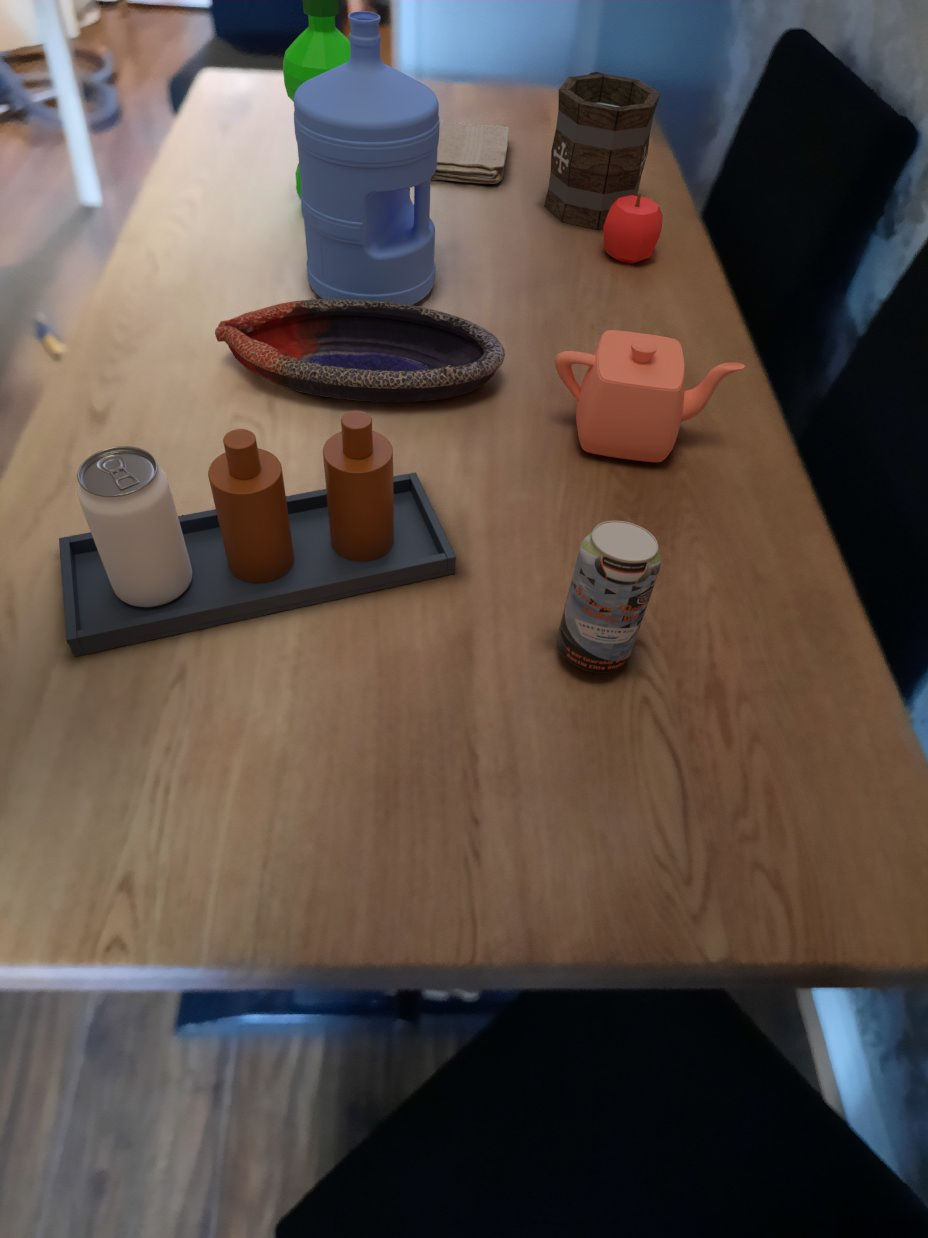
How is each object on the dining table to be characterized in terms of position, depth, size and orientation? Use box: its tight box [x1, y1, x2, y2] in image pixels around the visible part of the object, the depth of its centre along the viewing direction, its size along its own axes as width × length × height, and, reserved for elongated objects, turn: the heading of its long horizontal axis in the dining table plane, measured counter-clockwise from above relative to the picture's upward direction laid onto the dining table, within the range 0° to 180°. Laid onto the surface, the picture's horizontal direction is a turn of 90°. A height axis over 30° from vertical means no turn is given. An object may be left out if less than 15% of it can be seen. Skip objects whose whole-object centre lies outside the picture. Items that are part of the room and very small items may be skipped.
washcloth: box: [431, 121, 510, 185], centre depth 130 cm, size 12×18×3 cm, turn 176°
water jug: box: [293, 10, 441, 306], centre depth 95 cm, size 16×16×28 cm
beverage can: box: [556, 520, 662, 674], centre depth 66 cm, size 6×7×12 cm
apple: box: [602, 193, 664, 265], centre depth 111 cm, size 8×8×8 cm
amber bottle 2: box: [322, 410, 394, 562], centre depth 71 cm, size 6×6×13 cm
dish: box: [214, 298, 506, 403], centre depth 92 cm, size 16×31×5 cm, turn 84°
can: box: [76, 445, 192, 608], centre depth 67 cm, size 6×6×12 cm
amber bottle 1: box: [207, 428, 294, 583], centre depth 69 cm, size 6×6×13 cm
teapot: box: [554, 329, 746, 463], centre depth 85 cm, size 12×18×10 cm, turn 81°
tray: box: [58, 472, 457, 657], centre depth 73 cm, size 32×12×2 cm, turn 109°
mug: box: [543, 71, 661, 231], centre depth 119 cm, size 20×14×15 cm
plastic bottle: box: [282, 0, 351, 201], centre depth 108 cm, size 10×10×25 cm
